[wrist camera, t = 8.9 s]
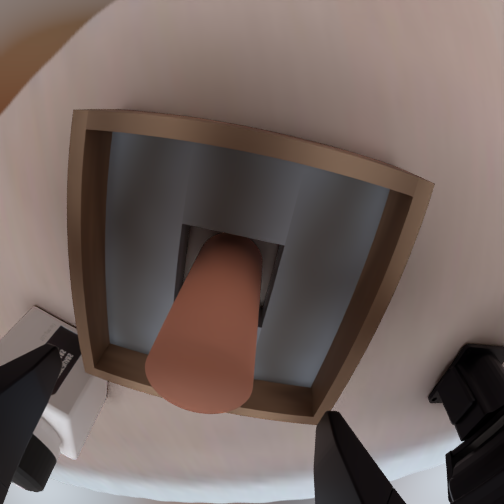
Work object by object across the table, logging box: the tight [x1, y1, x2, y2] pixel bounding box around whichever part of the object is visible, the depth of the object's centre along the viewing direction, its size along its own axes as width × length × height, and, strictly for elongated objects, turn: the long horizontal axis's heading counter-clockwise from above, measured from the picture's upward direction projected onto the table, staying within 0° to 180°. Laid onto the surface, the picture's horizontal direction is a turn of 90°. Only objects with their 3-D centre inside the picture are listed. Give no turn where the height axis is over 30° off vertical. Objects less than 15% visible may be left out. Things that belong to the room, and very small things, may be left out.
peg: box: [145, 233, 262, 414], centre depth 14 cm, size 4×4×9 cm
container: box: [0, 307, 108, 492], centre depth 16 cm, size 8×8×13 cm
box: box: [67, 109, 435, 425], centre depth 16 cm, size 15×15×4 cm
